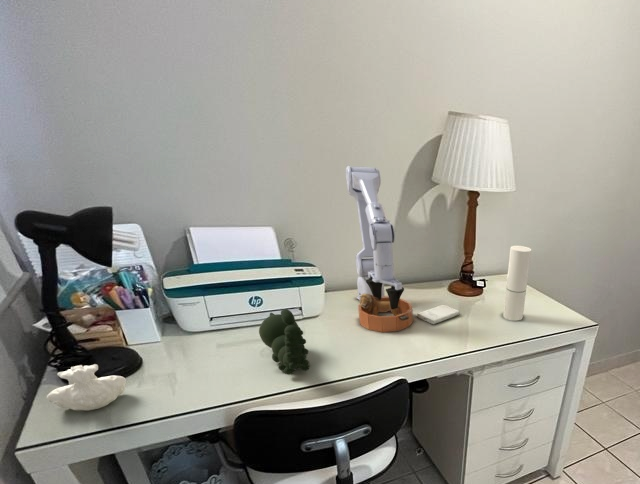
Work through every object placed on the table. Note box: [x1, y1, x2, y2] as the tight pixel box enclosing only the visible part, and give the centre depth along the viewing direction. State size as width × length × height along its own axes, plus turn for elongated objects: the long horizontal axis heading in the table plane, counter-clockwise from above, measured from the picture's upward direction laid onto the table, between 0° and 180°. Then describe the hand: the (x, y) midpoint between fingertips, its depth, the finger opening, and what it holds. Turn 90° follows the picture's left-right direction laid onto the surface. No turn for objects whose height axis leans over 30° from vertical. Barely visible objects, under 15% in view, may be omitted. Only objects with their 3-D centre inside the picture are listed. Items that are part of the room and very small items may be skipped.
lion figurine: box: [359, 294, 402, 316], centre depth 135 cm, size 15×5×9 cm, turn 107°
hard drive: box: [416, 304, 460, 325], centre depth 144 cm, size 2×8×12 cm
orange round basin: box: [357, 296, 414, 333], centre depth 136 cm, size 20×17×5 cm
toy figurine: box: [258, 308, 311, 376], centre depth 105 cm, size 9×19×25 cm
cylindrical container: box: [502, 245, 532, 322], centre depth 145 cm, size 7×7×25 cm
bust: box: [46, 363, 127, 411], centre depth 85 cm, size 12×8×11 cm
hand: (385, 304), depth 134 cm, fingers open, 7 cm apart
